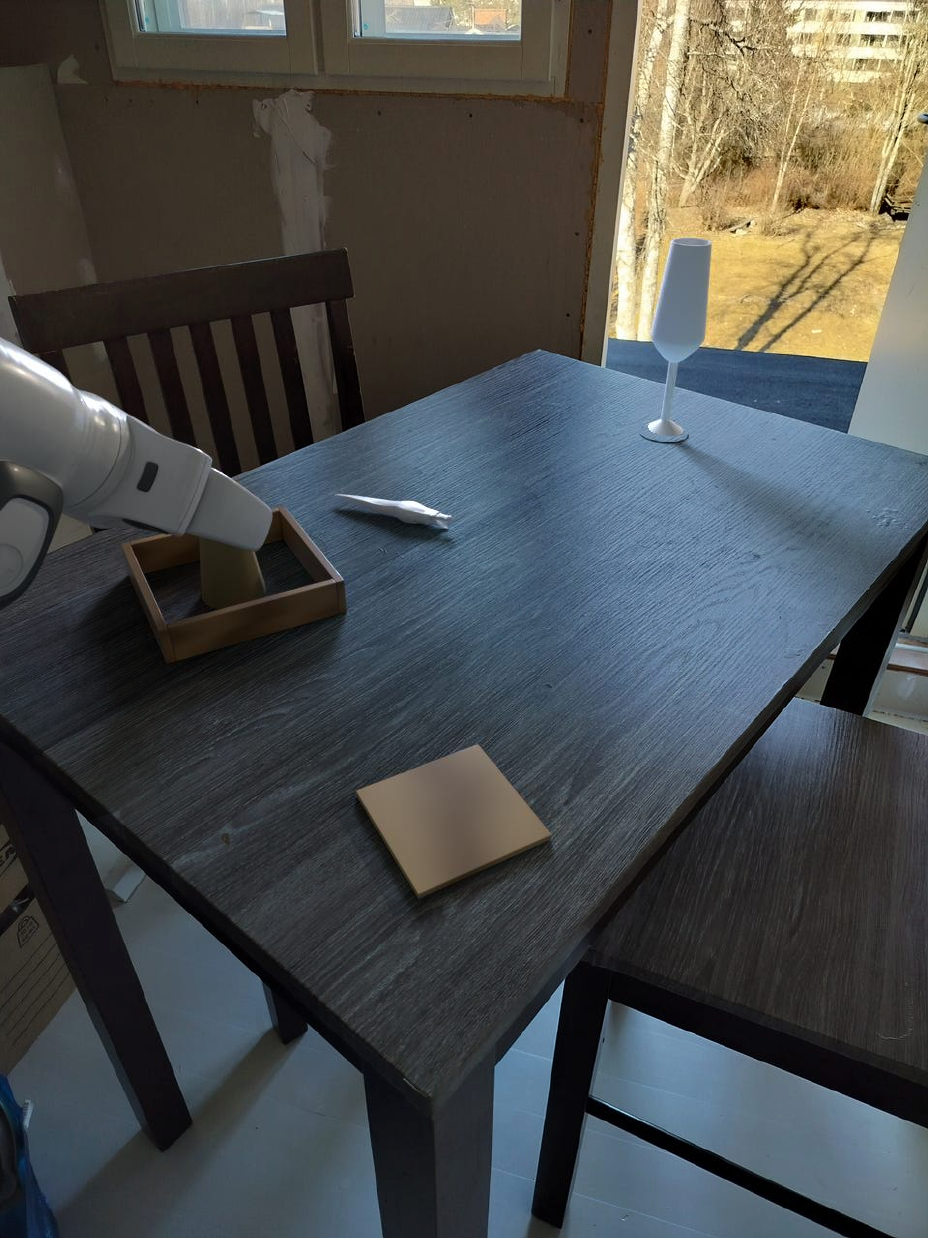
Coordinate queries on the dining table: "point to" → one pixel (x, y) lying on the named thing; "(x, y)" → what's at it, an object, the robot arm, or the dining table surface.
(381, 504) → the white animal figurine
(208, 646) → the open box
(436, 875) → the coaster
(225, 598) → the olive game pawn
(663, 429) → the champagne flute
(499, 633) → the dining table surface
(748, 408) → the dining table surface
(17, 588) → the robot arm
